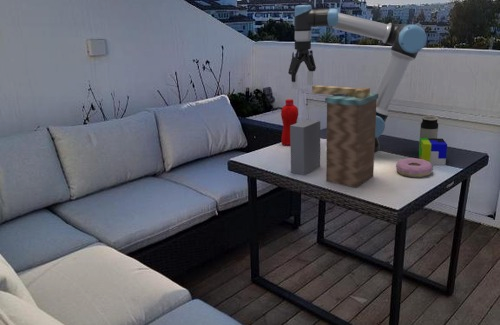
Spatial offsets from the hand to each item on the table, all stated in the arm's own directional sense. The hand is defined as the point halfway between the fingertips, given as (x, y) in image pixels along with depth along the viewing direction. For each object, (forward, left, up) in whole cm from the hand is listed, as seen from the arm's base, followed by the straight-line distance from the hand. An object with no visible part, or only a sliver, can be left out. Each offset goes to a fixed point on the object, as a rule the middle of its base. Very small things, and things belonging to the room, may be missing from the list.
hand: (302, 86), depth 209 cm
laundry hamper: (-16, +32, -36) cm, 50 cm away
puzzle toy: (-58, +15, -36) cm, 70 cm away
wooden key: (-12, +28, 0) cm, 30 cm away
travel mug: (-61, +2, -36) cm, 71 cm away
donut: (-45, +28, -36) cm, 64 cm away
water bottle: (+4, -27, -36) cm, 45 cm away
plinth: (+1, +17, -36) cm, 40 cm away
